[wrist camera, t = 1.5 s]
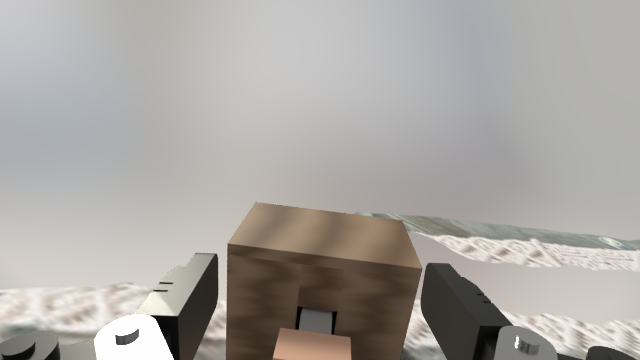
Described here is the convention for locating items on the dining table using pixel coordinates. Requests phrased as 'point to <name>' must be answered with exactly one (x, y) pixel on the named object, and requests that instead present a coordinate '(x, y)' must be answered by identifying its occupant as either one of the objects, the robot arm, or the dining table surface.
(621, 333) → the dining table surface
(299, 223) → the box
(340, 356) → the pinkish brown block
